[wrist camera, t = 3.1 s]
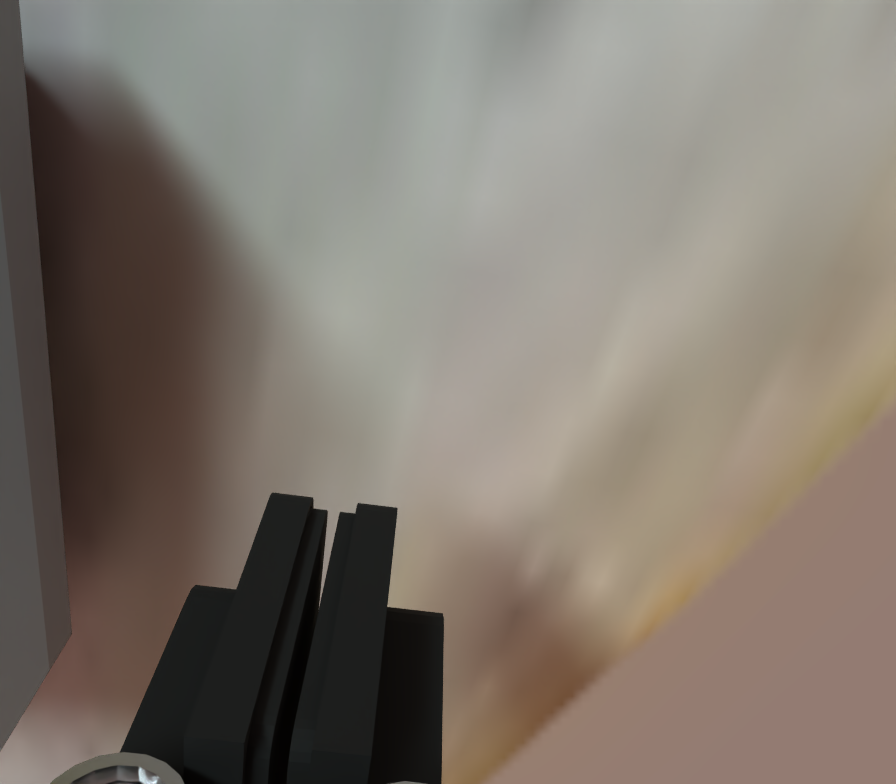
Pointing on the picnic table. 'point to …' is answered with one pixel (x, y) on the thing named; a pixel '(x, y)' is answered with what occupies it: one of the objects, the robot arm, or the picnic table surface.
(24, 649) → the grey square cubby
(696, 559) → the picnic table surface
